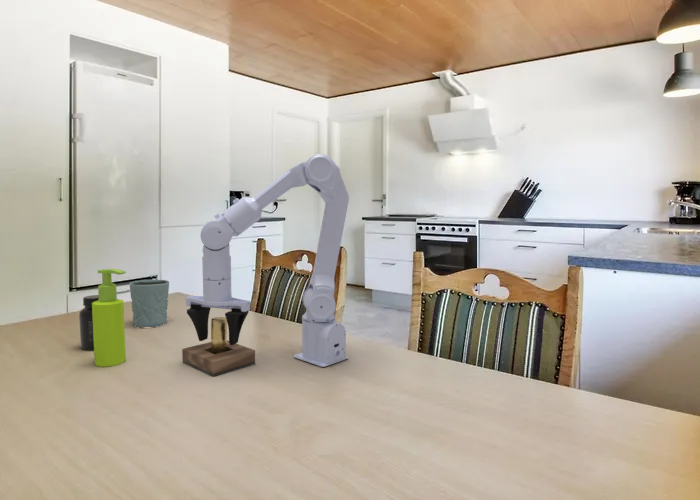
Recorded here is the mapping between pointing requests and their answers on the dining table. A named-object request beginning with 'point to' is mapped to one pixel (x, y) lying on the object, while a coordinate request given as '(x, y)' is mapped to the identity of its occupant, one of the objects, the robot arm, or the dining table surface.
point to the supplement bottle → (87, 323)
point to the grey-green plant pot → (149, 302)
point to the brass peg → (218, 335)
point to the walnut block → (218, 358)
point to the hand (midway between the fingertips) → (218, 341)
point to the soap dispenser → (108, 323)
